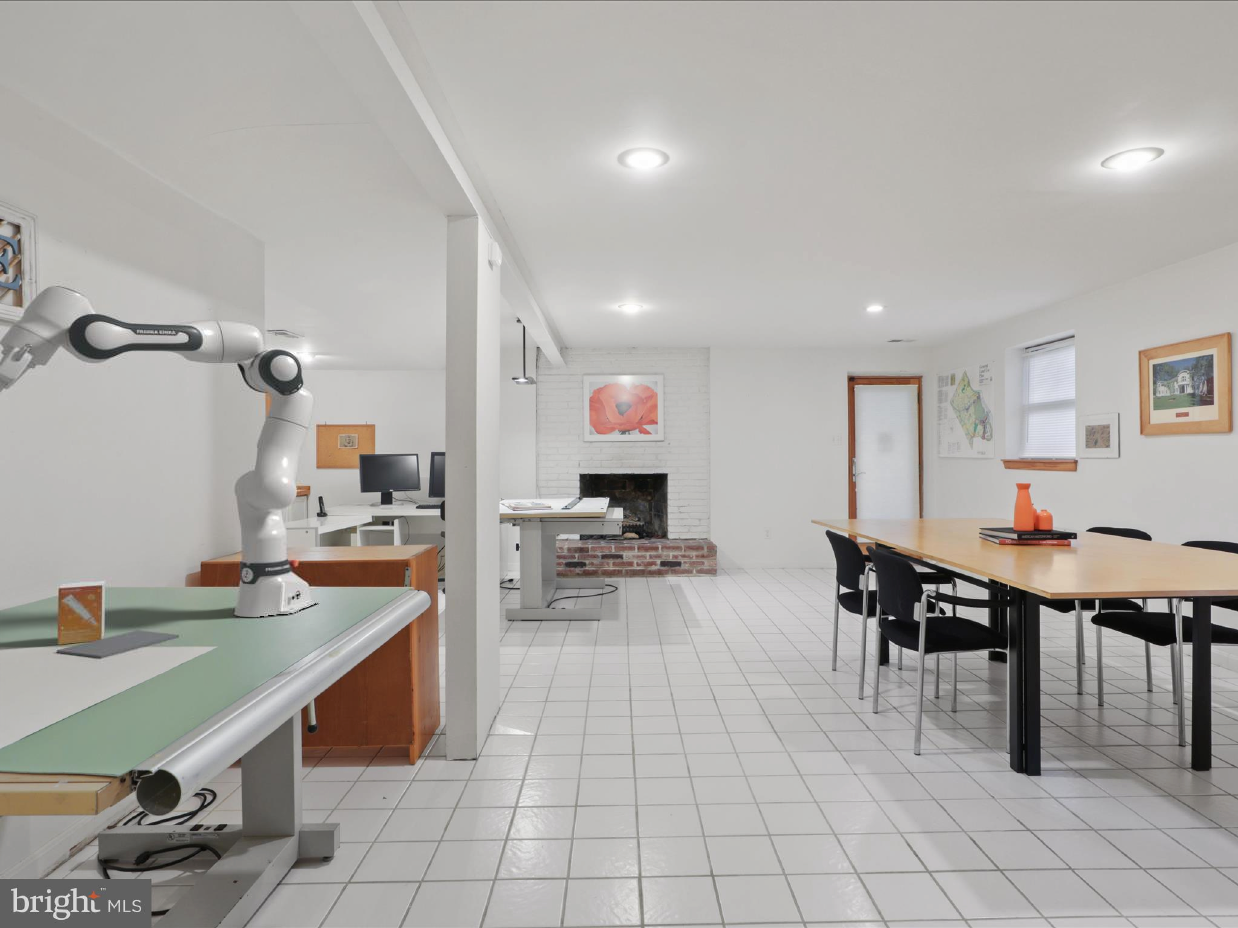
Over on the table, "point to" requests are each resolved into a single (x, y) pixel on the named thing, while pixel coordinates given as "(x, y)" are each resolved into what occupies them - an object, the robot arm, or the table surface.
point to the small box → (81, 612)
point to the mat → (117, 644)
